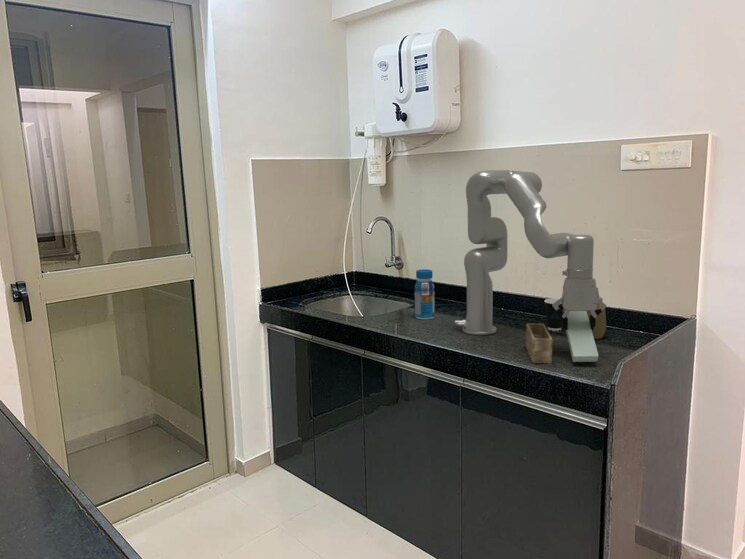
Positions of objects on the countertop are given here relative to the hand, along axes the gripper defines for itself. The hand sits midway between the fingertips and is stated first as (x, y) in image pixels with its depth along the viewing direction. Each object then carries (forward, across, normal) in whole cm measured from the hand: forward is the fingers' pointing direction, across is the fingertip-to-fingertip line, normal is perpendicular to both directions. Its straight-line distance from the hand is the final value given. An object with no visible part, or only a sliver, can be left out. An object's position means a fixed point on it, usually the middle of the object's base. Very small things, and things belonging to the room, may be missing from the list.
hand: (578, 328), depth 180 cm
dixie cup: (+9, -2, +32) cm, 34 cm away
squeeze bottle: (+9, +10, +22) cm, 26 cm away
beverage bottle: (+8, -52, +48) cm, 72 cm away
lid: (+3, 0, -1) cm, 3 cm away
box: (+9, -12, 0) cm, 15 cm away
